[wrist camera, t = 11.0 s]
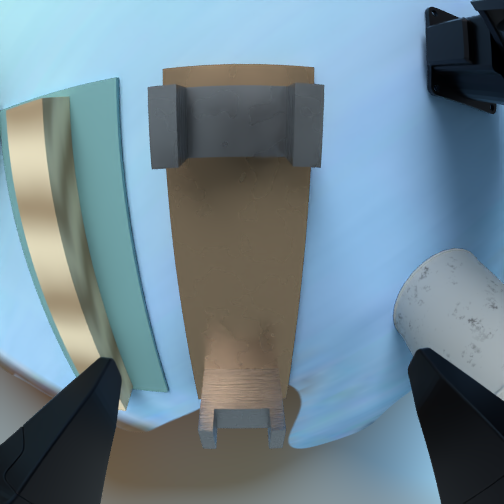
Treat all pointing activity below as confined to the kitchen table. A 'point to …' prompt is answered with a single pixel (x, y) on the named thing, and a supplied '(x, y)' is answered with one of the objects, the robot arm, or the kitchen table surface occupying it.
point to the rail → (59, 231)
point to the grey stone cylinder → (456, 315)
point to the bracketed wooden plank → (238, 227)
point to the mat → (102, 226)
